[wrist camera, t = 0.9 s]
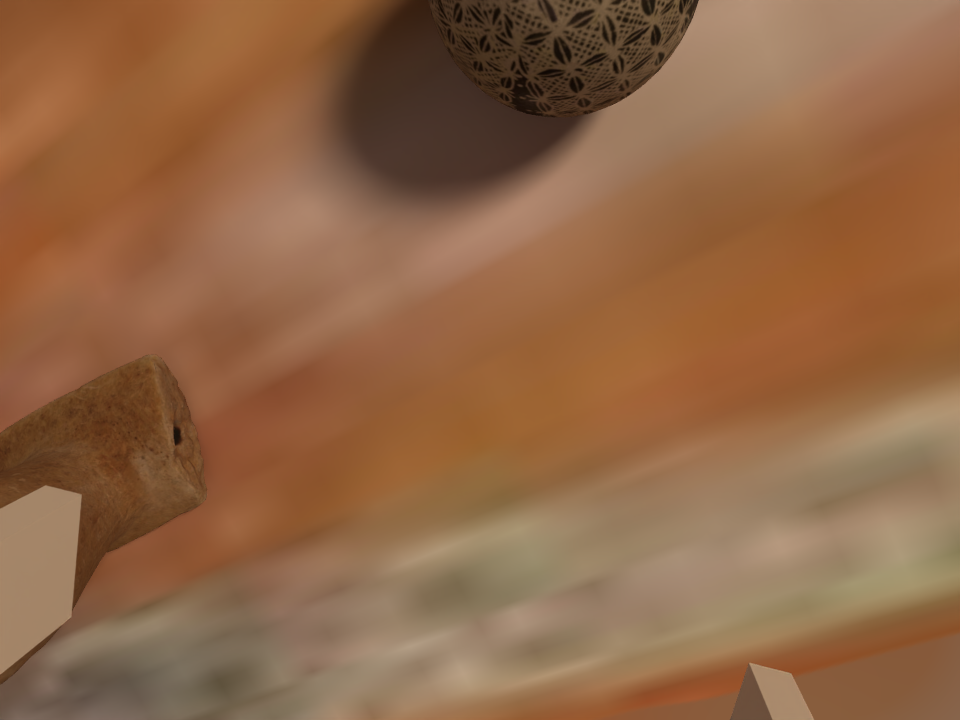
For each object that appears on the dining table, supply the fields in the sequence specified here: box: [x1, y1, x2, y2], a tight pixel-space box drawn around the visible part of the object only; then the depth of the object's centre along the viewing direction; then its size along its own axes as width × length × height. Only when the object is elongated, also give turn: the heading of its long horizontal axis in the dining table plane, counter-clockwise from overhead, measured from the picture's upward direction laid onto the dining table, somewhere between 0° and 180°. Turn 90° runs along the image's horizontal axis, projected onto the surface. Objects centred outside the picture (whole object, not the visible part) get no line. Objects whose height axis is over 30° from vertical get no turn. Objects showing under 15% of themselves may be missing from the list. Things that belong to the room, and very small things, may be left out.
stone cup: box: [0, 355, 207, 684], centre depth 38 cm, size 15×12×15 cm
